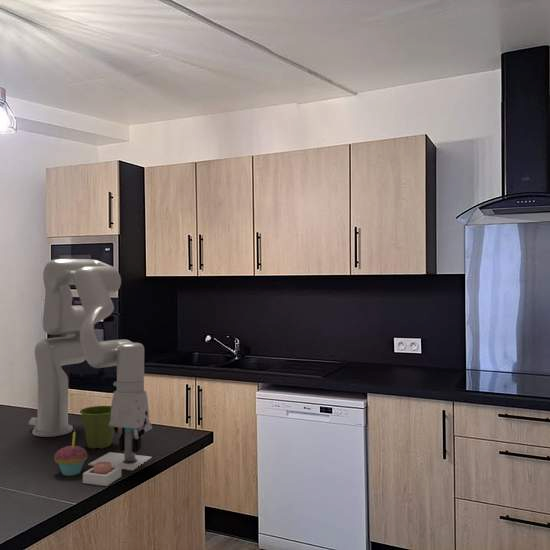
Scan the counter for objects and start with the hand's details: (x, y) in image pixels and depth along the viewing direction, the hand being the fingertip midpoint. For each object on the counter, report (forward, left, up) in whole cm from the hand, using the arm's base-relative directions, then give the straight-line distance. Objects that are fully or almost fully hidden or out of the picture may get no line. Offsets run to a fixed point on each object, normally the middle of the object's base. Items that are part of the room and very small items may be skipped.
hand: (130, 450), depth 164 cm
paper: (-3, 0, -4) cm, 5 cm away
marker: (0, 0, -3) cm, 3 cm away
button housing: (0, -14, -4) cm, 14 cm away
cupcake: (-11, -12, -4) cm, 17 cm away
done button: (0, -14, -2) cm, 14 cm away
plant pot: (-17, +11, -4) cm, 21 cm away
